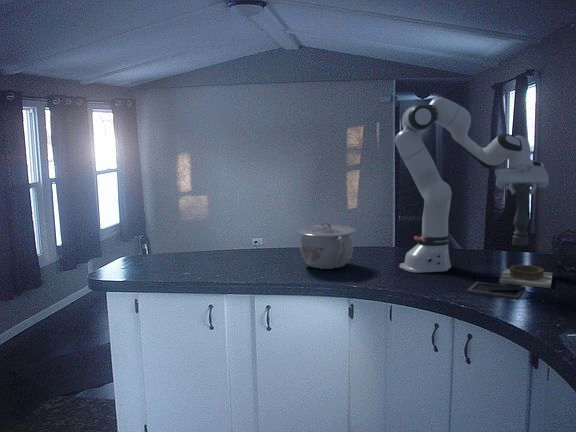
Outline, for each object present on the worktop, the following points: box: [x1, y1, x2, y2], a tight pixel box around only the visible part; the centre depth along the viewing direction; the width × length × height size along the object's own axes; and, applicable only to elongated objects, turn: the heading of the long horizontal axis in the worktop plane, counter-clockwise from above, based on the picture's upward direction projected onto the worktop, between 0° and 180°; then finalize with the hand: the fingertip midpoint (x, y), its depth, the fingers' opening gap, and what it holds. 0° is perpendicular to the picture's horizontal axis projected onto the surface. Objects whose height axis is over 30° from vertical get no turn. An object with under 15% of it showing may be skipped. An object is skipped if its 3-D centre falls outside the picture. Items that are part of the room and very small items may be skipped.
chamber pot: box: [295, 221, 358, 270], centre depth 242 cm, size 28×28×21 cm
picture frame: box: [465, 281, 527, 301], centre depth 199 cm, size 13×2×18 cm
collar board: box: [499, 264, 553, 289], centre depth 213 cm, size 18×18×4 cm
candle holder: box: [511, 184, 531, 247], centre depth 222 cm, size 6×6×25 cm
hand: (522, 193), depth 220 cm, fingers closed on candle holder, 6 cm apart
